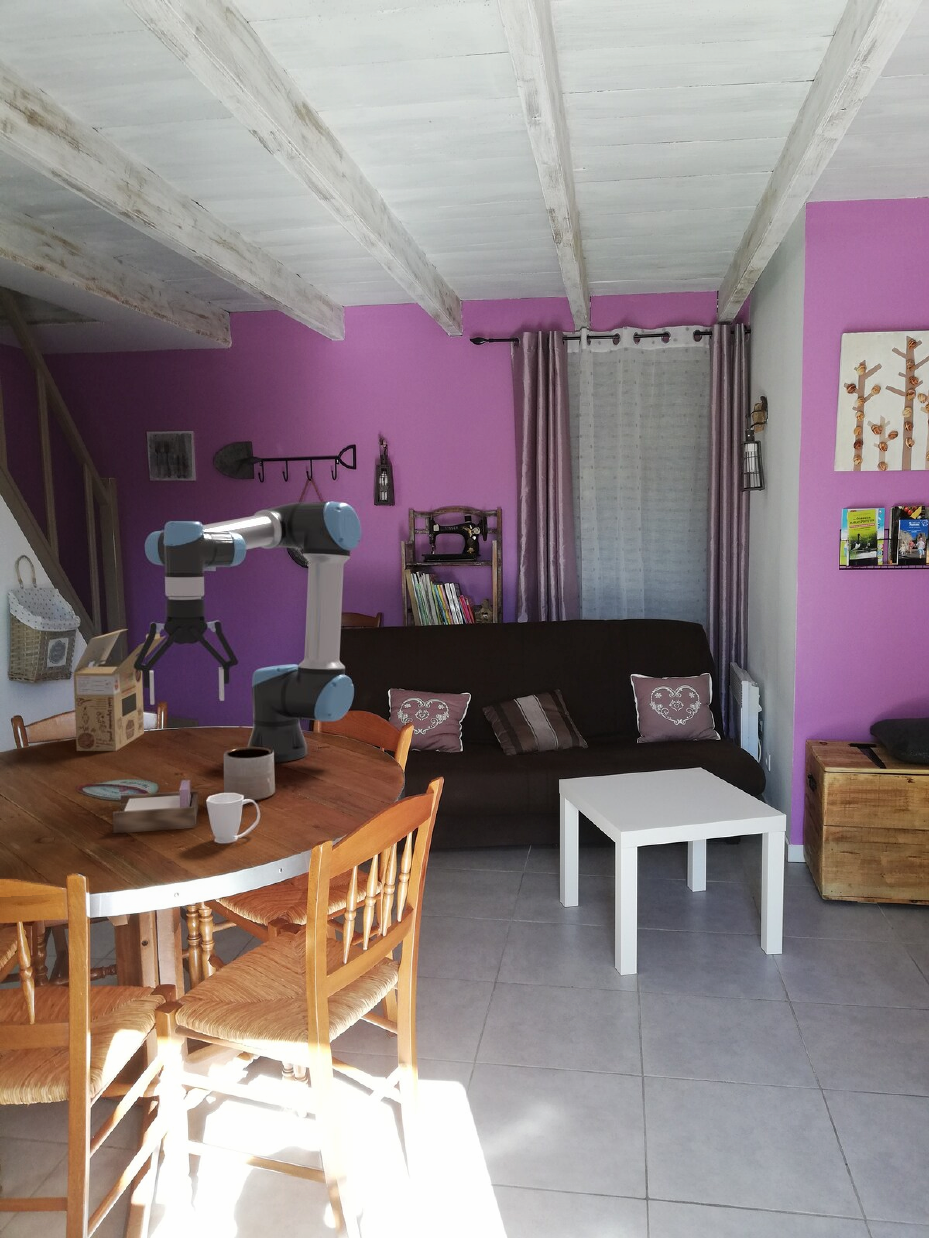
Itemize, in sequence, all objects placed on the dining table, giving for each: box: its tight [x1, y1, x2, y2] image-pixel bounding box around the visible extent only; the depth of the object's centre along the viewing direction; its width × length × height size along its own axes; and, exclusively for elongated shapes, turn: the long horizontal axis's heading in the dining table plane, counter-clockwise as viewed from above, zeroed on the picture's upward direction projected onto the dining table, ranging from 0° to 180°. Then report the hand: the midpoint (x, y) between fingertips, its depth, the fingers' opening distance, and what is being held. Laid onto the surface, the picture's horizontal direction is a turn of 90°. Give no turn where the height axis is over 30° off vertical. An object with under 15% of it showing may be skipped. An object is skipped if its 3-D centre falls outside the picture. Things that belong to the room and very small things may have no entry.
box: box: [73, 628, 167, 752], centre depth 249 cm, size 21×20×30 cm
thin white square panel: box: [124, 779, 191, 811], centre depth 183 cm, size 12×10×4 cm
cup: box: [205, 792, 261, 844], centre depth 173 cm, size 7×10×8 cm
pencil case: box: [112, 790, 199, 834], centre depth 183 cm, size 15×12×4 cm
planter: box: [223, 746, 276, 802], centre depth 201 cm, size 11×11×10 cm
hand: (187, 701), depth 188 cm, fingers open, 13 cm apart
